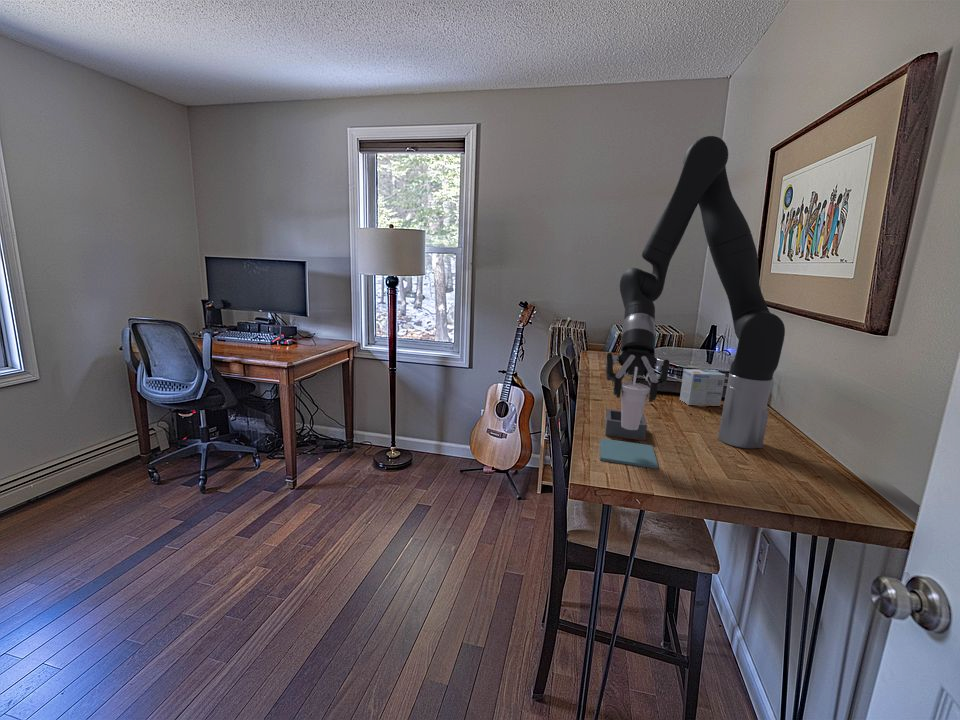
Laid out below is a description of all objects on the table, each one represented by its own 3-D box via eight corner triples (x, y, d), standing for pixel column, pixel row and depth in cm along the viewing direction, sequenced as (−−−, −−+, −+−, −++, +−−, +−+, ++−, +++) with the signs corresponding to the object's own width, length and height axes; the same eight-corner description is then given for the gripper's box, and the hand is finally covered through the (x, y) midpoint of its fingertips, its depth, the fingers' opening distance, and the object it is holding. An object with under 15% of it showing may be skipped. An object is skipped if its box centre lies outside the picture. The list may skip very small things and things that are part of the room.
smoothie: (609, 423, 107) (617, 363, 104) (631, 421, 109) (639, 363, 106) (628, 433, 101) (637, 371, 98) (650, 431, 104) (660, 370, 101)
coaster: (651, 447, 111) (652, 445, 111) (657, 468, 99) (658, 466, 99) (600, 440, 114) (600, 438, 113) (600, 460, 102) (600, 457, 102)
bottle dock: (641, 427, 124) (643, 413, 123) (644, 440, 115) (647, 425, 114) (604, 423, 126) (606, 408, 125) (605, 435, 117) (607, 420, 116)
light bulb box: (709, 401, 154) (714, 369, 152) (720, 407, 147) (726, 374, 145) (678, 400, 153) (683, 368, 151) (688, 406, 146) (693, 373, 144)
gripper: (608, 324, 109) (602, 385, 101) (673, 330, 106) (673, 394, 97) (605, 342, 115) (599, 401, 107) (667, 349, 112) (665, 410, 104)
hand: (634, 398), depth 102 cm, fingers closed on smoothie, 6 cm apart
